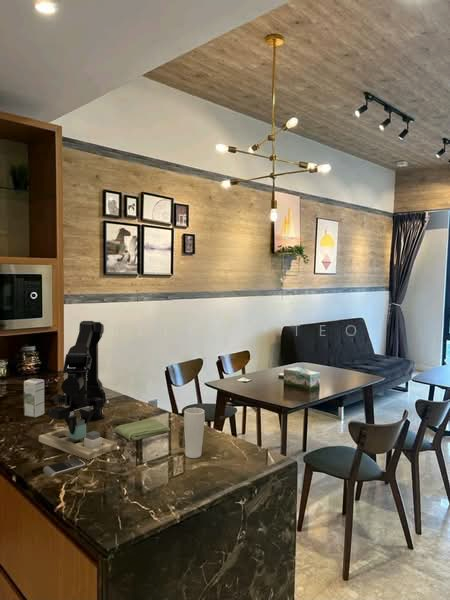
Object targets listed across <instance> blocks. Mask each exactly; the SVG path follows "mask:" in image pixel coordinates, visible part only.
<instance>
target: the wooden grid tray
mask: <svg viewBox="0 0 450 600" xmlns="http://www.w3.org/2000/svg"><path fill="white" fill-rule="evenodd" d="M64 436H65V437H64ZM61 437H62V438H61ZM84 438H86V437H84ZM84 438H81V439H78V440H75V439H72V438H70V437H69V428H68V426H65V427H62V428H60V429H56V430H53V431H50V432H47V433H43V434H40V435H38V442H40V443H41V444H44V445H47V446H50V447H51V448H55V449H57V450H59V451H63V452H65V453H68V454H71V455H73V456H76V457H78V456H79V457H78V458H81V457H82V458H81V459H83V458H84V459H83V460H86V459H87V461H90V459H91V460H92V458H93V459H96V458H98V457H99V456H102V454H103V455H105V454H107V452H108V453H110V452H113V451H115V450H117V449H118V442H116V441H114V440H113V441H112V440H109V439H106V438H103V437H102V446H100V447H98V448H95V449H92V450H91V449H88V448H86V447H84ZM78 441H79V442H78ZM76 442H77V443H76ZM112 450H113V451H112ZM97 456H98V457H97Z"/></svg>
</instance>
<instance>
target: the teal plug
mask: <svg viewBox="0 0 450 600" xmlns="http://www.w3.org/2000/svg"><path fill="white" fill-rule="evenodd" d="M86 433H87V426H86V424H85V419H82V418H81V417H77V418H76V425H75V431H74V434H73V435H72V434H71V433H70V431H69V437H70V438H72V439H75V440H78V439H81V438H84V437H86Z"/></svg>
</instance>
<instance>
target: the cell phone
mask: <svg viewBox="0 0 450 600" xmlns="http://www.w3.org/2000/svg"><path fill="white" fill-rule="evenodd" d="M85 466H86V463H85V462H84V461H83V460H81V459H79V458H75V457H74V458H71V459H67V460H65V461H64V460H63V461H60V462H57V463H56V462H55V463H52V464H49V465H46V466H44V467H43V470H42V471H43V472H44V473H45V474H46V475H47V476H49V477H51V478H52V477H56V476H59V475H62V474H66V473H69V472H73V471H76V469H77V470H79V468H80V469H83V468H85ZM82 467H83V468H82Z"/></svg>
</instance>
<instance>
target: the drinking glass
mask: <svg viewBox="0 0 450 600" xmlns="http://www.w3.org/2000/svg"><path fill="white" fill-rule="evenodd" d="M183 413H184V414H183V429H184V432H183V433H184V444H185V445H184V446H185V447H184V448H185V451H184V454H185V456H186V457H187V458H188V459H198V458H200V457H202V453H203V450H202V449H203V440H204V431H205V430H204V429H205V422H206V419H205V417H206V416H205V413H206V412H205V410H204V409H203V408H201V407H200V408H199V407H190V408H189V407H188V408H186V409H184V411H183Z"/></svg>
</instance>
